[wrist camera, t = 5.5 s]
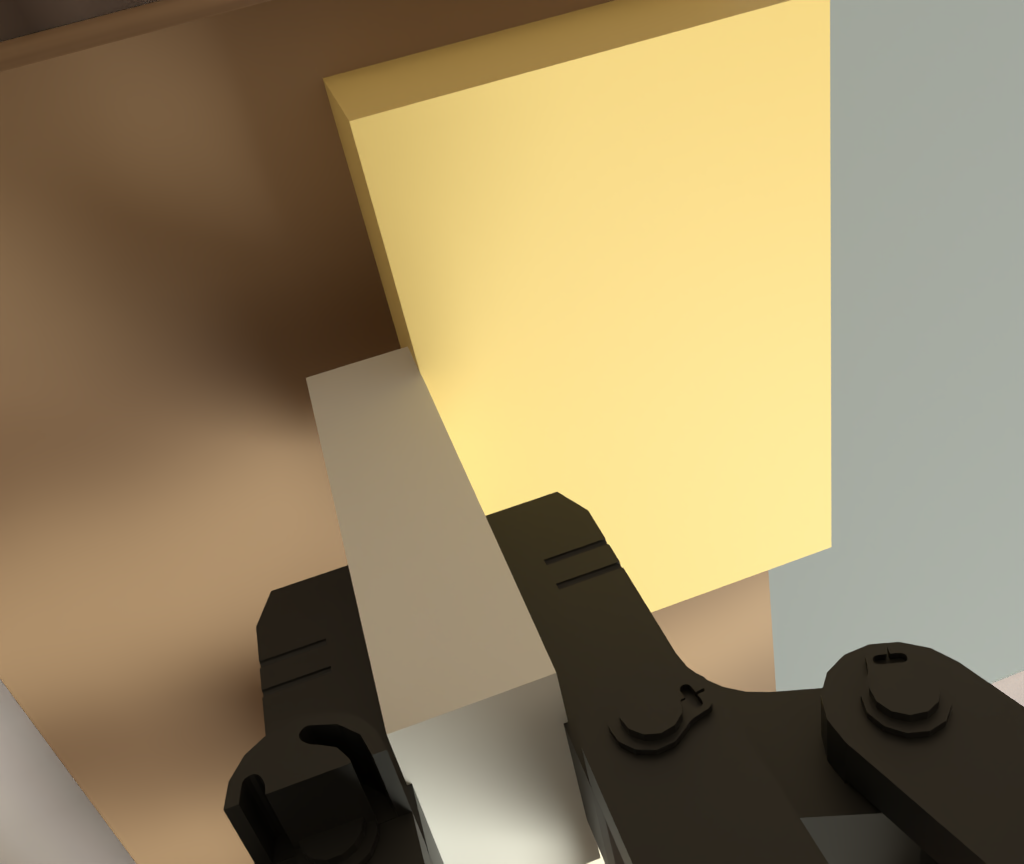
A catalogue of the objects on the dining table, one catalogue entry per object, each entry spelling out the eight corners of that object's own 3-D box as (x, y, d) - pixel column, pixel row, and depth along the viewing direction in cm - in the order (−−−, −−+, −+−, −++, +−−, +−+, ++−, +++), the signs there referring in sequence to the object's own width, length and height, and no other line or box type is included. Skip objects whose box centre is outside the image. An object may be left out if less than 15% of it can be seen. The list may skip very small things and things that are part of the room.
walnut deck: (-273, 113, 14) (-374, 171, 11) (637, -125, 15) (724, -120, 13) (257, 925, 26) (265, 1038, 23) (730, 738, 28) (784, 825, 25)
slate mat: (647, -202, 15) (668, -204, 14) (1289, -362, 17) (1336, -372, 16) (742, 756, 28) (755, 778, 28) (1093, 617, 30) (1113, 634, 29)
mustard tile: (322, 77, 13) (349, 121, 11) (732, -31, 14) (830, -11, 12) (466, 572, 18) (502, 666, 16) (760, 470, 19) (831, 547, 17)
